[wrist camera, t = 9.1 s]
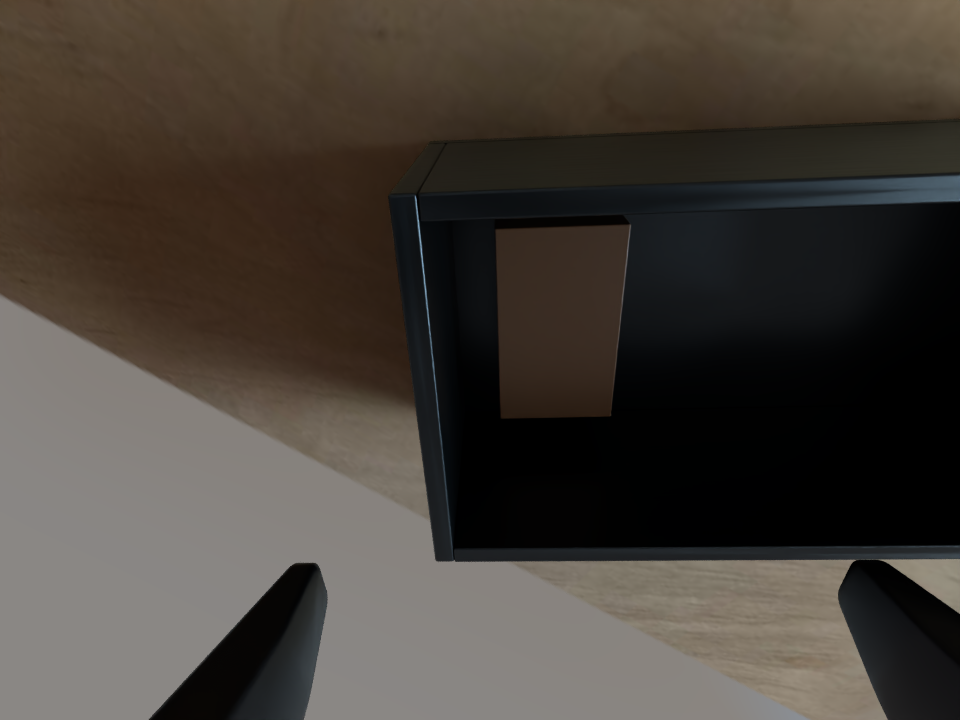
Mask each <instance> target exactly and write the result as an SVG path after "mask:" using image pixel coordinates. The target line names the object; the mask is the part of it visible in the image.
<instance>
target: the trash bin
mask: <svg viewBox="0 0 960 720" xmlns="http://www.w3.org/2000/svg"><path fill="white" fill-rule="evenodd" d="M388 200H389V208H390V216H391V223H392V231H393V239H394V246H395V254H396V262H397V269H398V277H399V285H400V292H401V300H402V308H403V315H404V323H405V330H406V338H407V346H408V353H409V361H410V369H411V376H412V384H413V392H414V399H415V407H416V415H417V422H418V430H419V438H420V445H421V453H422V461H423V468H424V476H425V484H426V491H427V499H428V506H429V514H430V522H431V529H432V537H433V544H434V552H435V559H436V561H454V560H455V561H456V562H471V561H472V562H482V561H484V562H486V561H487V562H489V561H490V562H491V561H492V562H493V561H494V562H495V561H681V560H866V559H960V119H944V120H920V121H897V122H873V123H849V124H826V125H802V126H779V127H755V128H732V129H708V130H685V131H661V132H638V133H614V134H591V135H567V136H544V137H520V138H497V139H473V140H450V141H431V142H429V143H428V145H427V146H426V148H425V149H424V150H423V151H422V153H421V154H420V155H419V157H418V158H417V159H416V160H415V162H414V163H413V164H412V166H411V167H410V168H409V169H408V171H407V172H406V173H405V174H404V176H403V177H402V178H401V180H400V181H399V182H398V183H397V185H396V186H395V187H394V189H393V190H392V191H391V192H390V194H389V196H388ZM604 215H624V217H625V218H626V219H627V220H628V222H629V223H630V224H631V230H630V239H629V249H628V258H627V267H626V277H625V286H624V295H623V305H622V314H621V323H620V333H619V342H618V352H617V361H616V370H615V380H614V389H613V398H612V408H611V416H610V417H559V418H503V419H501V418H500V403H499V368H498V333H497V299H496V264H495V219H519V218H547V217H576V216H604Z"/></svg>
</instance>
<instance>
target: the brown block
mask: <svg viewBox="0 0 960 720" xmlns="http://www.w3.org/2000/svg"><path fill="white" fill-rule="evenodd" d="M630 230H631V224H630V223H629V222H628V220H627V219H626V218H625V217H624V215H604V216H576V217H547V218H519V219H495V264H496V299H497V333H498V368H499V403H500V418H501V419H503V418H559V417H610V416H611V408H612V398H613V389H614V380H615V370H616V361H617V352H618V342H619V333H620V323H621V314H622V305H623V295H624V286H625V277H626V267H627V258H628V249H629V239H630Z"/></svg>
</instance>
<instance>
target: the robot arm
mask: <svg viewBox="0 0 960 720" xmlns="http://www.w3.org/2000/svg"><path fill="white" fill-rule="evenodd" d="M838 600H839V604H840V607H841V610H842V612H843V615H844V617H845V620H846V622H847V624H848V627H849V629H850V632H851V634H852V637H853V639H854V642H855V644H856V647H857V649H858V652H859V654H860V657H861V659H862V661H863V664H864V666H865V669H866V671H867V674H868V676H869V679H870V681H871V684H872V686H873V688H874V691H875V693H876V695H877V698H878V700H879V702H880V704H881V706H882V708H883V710H884V712H885V714H886V717H887V719H888V720H960V614H959V613H958V612H956V611H955V610H953V609H952V608H951V607H949V606H948V605H946V604H945V603H944V602H942V601H941V600H939V599H938V598H936V597H935V596H934V595H932V594H931V593H929V592H928V591H926V590H925V589H924V588H922V587H921V586H919V585H918V584H917V583H915V582H914V581H912V580H911V579H909V578H908V577H907V576H905V575H904V574H902V573H901V572H899V571H898V570H897V569H895V568H894V567H892V566H891V565H889V564H888V563H886V562H884V561H881V560H856V561H854V562H853V563H852V564H851V566H850V568H849V570H848V572H847V574H846V576H845V578H844V580H843V582H842V584H841V586H840V588H839V591H838ZM326 607H327V590H326V587H325V584H324V581H323V577H322V574H321V571H320V568H319V566H318V565H317V564H316V563H295V564H293V565H292V566H290V567H289V568H288V569H287V570H286V571H285V573H284V574H283V575H282V576H281V577H280V578H279V579H278V580H277V581H276V582H275V583H274V584H273V586H272V587H271V588H270V589H269V590H268V591H267V592H266V593H265V594H264V595H263V596H262V597H261V599H260V600H259V601H258V602H257V603H256V604H255V605H254V606H253V607H252V608H251V609H250V610H249V612H248V613H247V614H246V615H245V616H244V617H243V618H242V619H241V620H240V622H238V623H237V625H236V626H235V627H234V628H233V629H232V630H231V631H230V632H229V633H228V634H227V635H226V636H225V638H224V639H223V640H222V641H221V642H220V643H219V644H218V645H217V646H216V647H215V648H214V649H213V651H212V652H211V653H210V654H209V655H208V656H207V657H206V658H205V659H204V660H203V661H202V662H201V664H200V665H199V666H198V667H197V668H196V669H195V670H194V671H193V672H192V673H191V674H190V675H189V676H188V678H187V679H186V680H185V681H184V682H183V683H182V684H181V685H180V686H179V687H178V688H177V690H176V691H175V692H174V693H173V694H172V695H171V696H170V697H169V698H168V699H167V700H166V701H165V702H164V704H163V705H162V706H161V707H160V708H159V709H158V710H157V711H156V712H155V713H154V714H153V715H152V717H151V718H150V719H149V720H304V716H305V712H306V709H307V705H308V701H309V697H310V693H311V688H312V683H313V677H314V672H315V667H316V661H317V656H318V651H319V645H320V640H321V635H322V629H323V624H324V619H325V613H326Z"/></svg>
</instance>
